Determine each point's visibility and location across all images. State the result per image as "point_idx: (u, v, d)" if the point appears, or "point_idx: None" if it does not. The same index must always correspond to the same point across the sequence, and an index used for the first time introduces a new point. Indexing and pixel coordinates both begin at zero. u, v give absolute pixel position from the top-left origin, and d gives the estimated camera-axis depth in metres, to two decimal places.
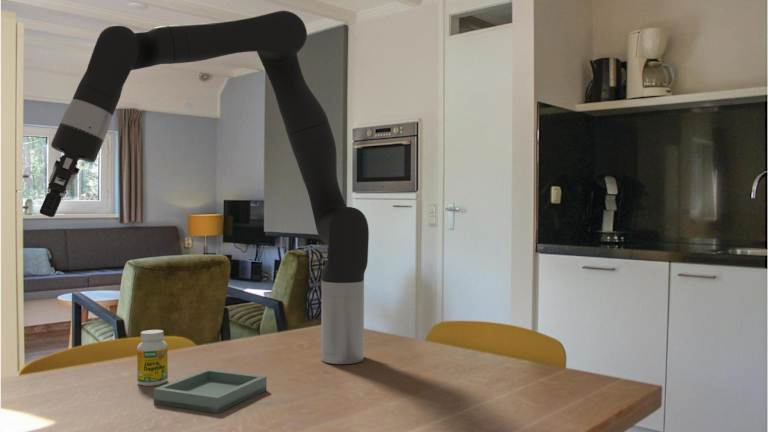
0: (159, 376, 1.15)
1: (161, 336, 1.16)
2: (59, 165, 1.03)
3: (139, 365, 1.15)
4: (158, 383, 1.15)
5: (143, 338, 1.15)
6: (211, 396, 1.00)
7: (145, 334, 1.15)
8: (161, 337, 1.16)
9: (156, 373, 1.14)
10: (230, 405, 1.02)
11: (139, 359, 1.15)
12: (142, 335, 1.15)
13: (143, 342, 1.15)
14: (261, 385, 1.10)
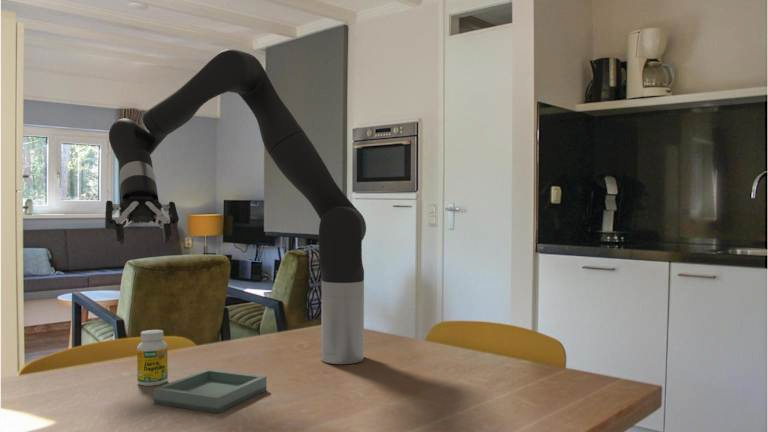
0: (159, 376, 1.15)
1: (161, 336, 1.16)
2: (105, 214, 1.29)
3: (139, 365, 1.15)
4: (158, 383, 1.15)
5: (143, 338, 1.15)
6: (211, 396, 1.00)
7: (145, 334, 1.15)
8: (161, 337, 1.16)
9: (156, 373, 1.14)
10: (230, 405, 1.02)
11: (139, 359, 1.15)
12: (142, 335, 1.15)
13: (143, 342, 1.15)
14: (261, 385, 1.10)
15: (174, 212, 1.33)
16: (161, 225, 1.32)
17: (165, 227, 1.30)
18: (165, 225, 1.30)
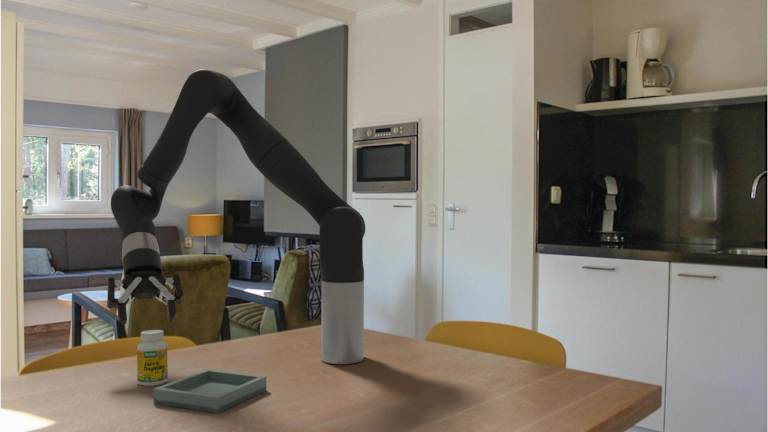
0: (159, 376, 1.15)
1: (161, 336, 1.16)
2: None
3: (139, 365, 1.15)
4: (158, 383, 1.15)
5: (143, 338, 1.15)
6: (211, 396, 1.00)
7: (145, 334, 1.15)
8: (161, 337, 1.16)
9: (156, 373, 1.14)
10: (230, 405, 1.02)
11: (139, 359, 1.15)
12: (142, 335, 1.15)
13: (143, 342, 1.15)
14: (261, 385, 1.10)
15: (178, 287, 1.29)
16: (165, 301, 1.28)
17: (169, 304, 1.25)
18: (169, 302, 1.26)
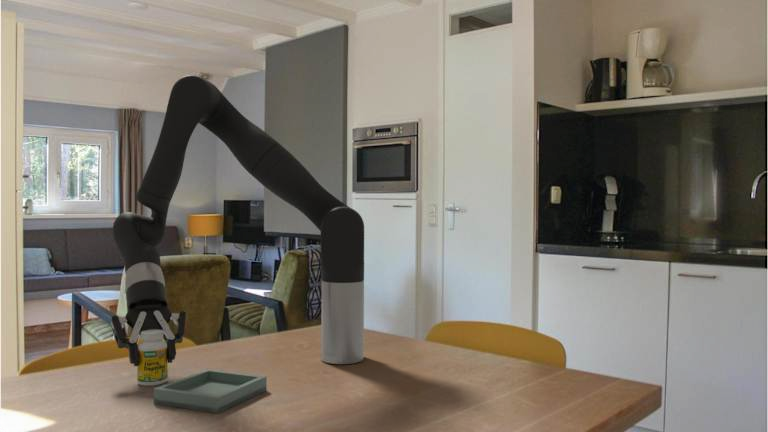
0: (159, 376, 1.15)
1: (161, 336, 1.16)
2: None
3: (139, 365, 1.15)
4: (158, 383, 1.15)
5: (142, 337, 1.15)
6: (211, 396, 1.00)
7: (145, 334, 1.15)
8: (161, 337, 1.16)
9: (156, 373, 1.14)
10: (230, 405, 1.02)
11: (139, 359, 1.15)
12: (142, 335, 1.15)
13: (143, 342, 1.15)
14: (261, 385, 1.10)
15: (181, 325, 1.21)
16: (165, 339, 1.20)
17: (169, 345, 1.17)
18: (169, 342, 1.18)
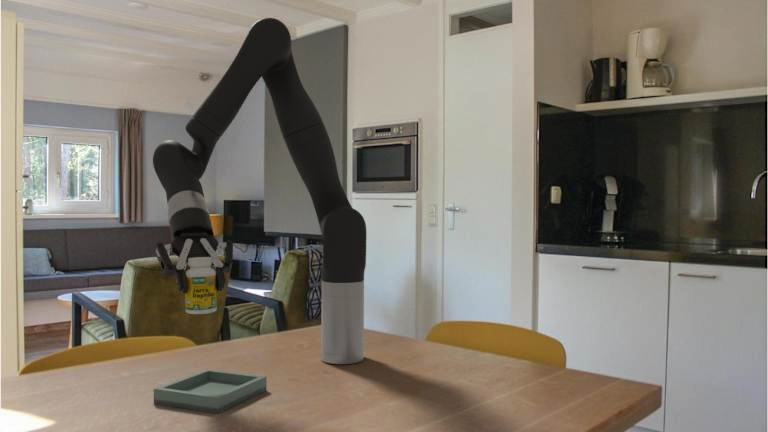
0: (209, 304, 1.08)
1: (210, 262, 1.09)
2: (158, 258, 1.11)
3: (187, 292, 1.08)
4: (208, 311, 1.08)
5: (190, 263, 1.08)
6: (211, 396, 1.00)
7: (193, 259, 1.08)
8: (209, 263, 1.09)
9: (205, 300, 1.08)
10: (230, 405, 1.02)
11: None
12: (190, 261, 1.08)
13: (191, 268, 1.08)
14: (261, 385, 1.10)
15: (229, 253, 1.14)
16: (213, 268, 1.13)
17: (218, 272, 1.10)
18: (218, 270, 1.11)
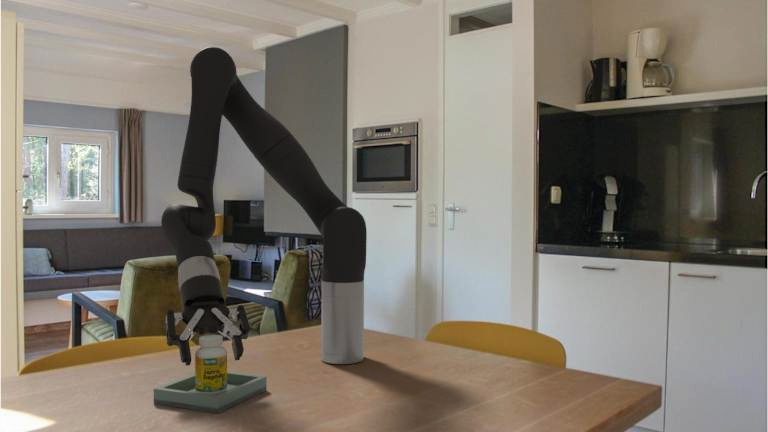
0: (219, 385, 1.06)
1: (221, 342, 1.07)
2: None
3: (198, 373, 1.06)
4: (218, 393, 1.06)
5: (202, 344, 1.06)
6: (211, 396, 1.00)
7: (204, 340, 1.06)
8: (221, 343, 1.07)
9: (216, 382, 1.06)
10: (230, 405, 1.02)
11: (197, 366, 1.06)
12: (201, 341, 1.06)
13: (202, 348, 1.07)
14: (261, 385, 1.10)
15: (244, 320, 1.13)
16: (230, 336, 1.12)
17: (236, 341, 1.09)
18: (236, 338, 1.10)
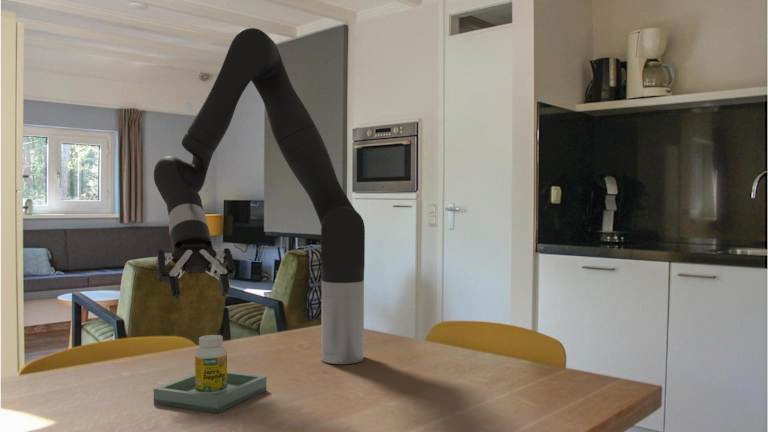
0: (219, 385, 1.06)
1: (221, 342, 1.07)
2: None
3: (198, 373, 1.06)
4: (218, 393, 1.06)
5: (201, 344, 1.06)
6: (211, 396, 1.00)
7: (204, 340, 1.06)
8: (221, 343, 1.07)
9: (216, 382, 1.06)
10: (230, 405, 1.02)
11: (197, 366, 1.06)
12: (201, 341, 1.06)
13: (202, 348, 1.07)
14: (261, 385, 1.10)
15: (230, 261, 1.22)
16: (217, 275, 1.21)
17: (222, 278, 1.18)
18: (222, 276, 1.19)
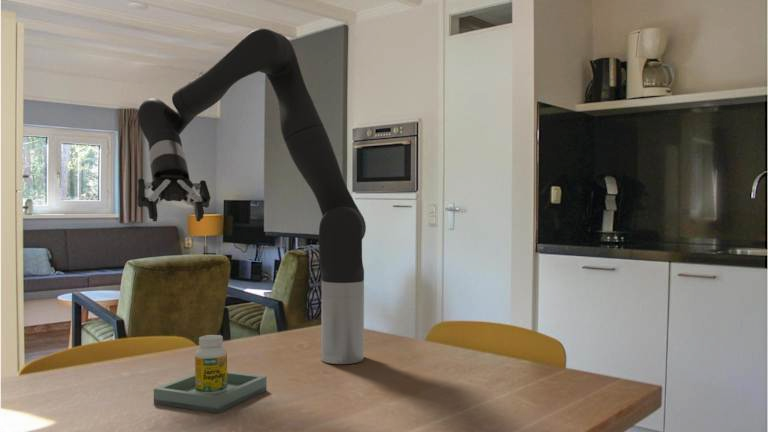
0: (219, 385, 1.06)
1: (221, 342, 1.07)
2: (137, 192, 1.28)
3: (198, 373, 1.06)
4: (218, 393, 1.06)
5: (202, 344, 1.06)
6: (211, 396, 1.00)
7: (204, 340, 1.06)
8: (221, 343, 1.07)
9: (216, 382, 1.06)
10: (230, 405, 1.02)
11: (197, 366, 1.06)
12: (201, 341, 1.06)
13: (202, 348, 1.07)
14: (261, 385, 1.10)
15: (206, 191, 1.32)
16: (193, 204, 1.31)
17: (197, 205, 1.29)
18: (197, 203, 1.29)
